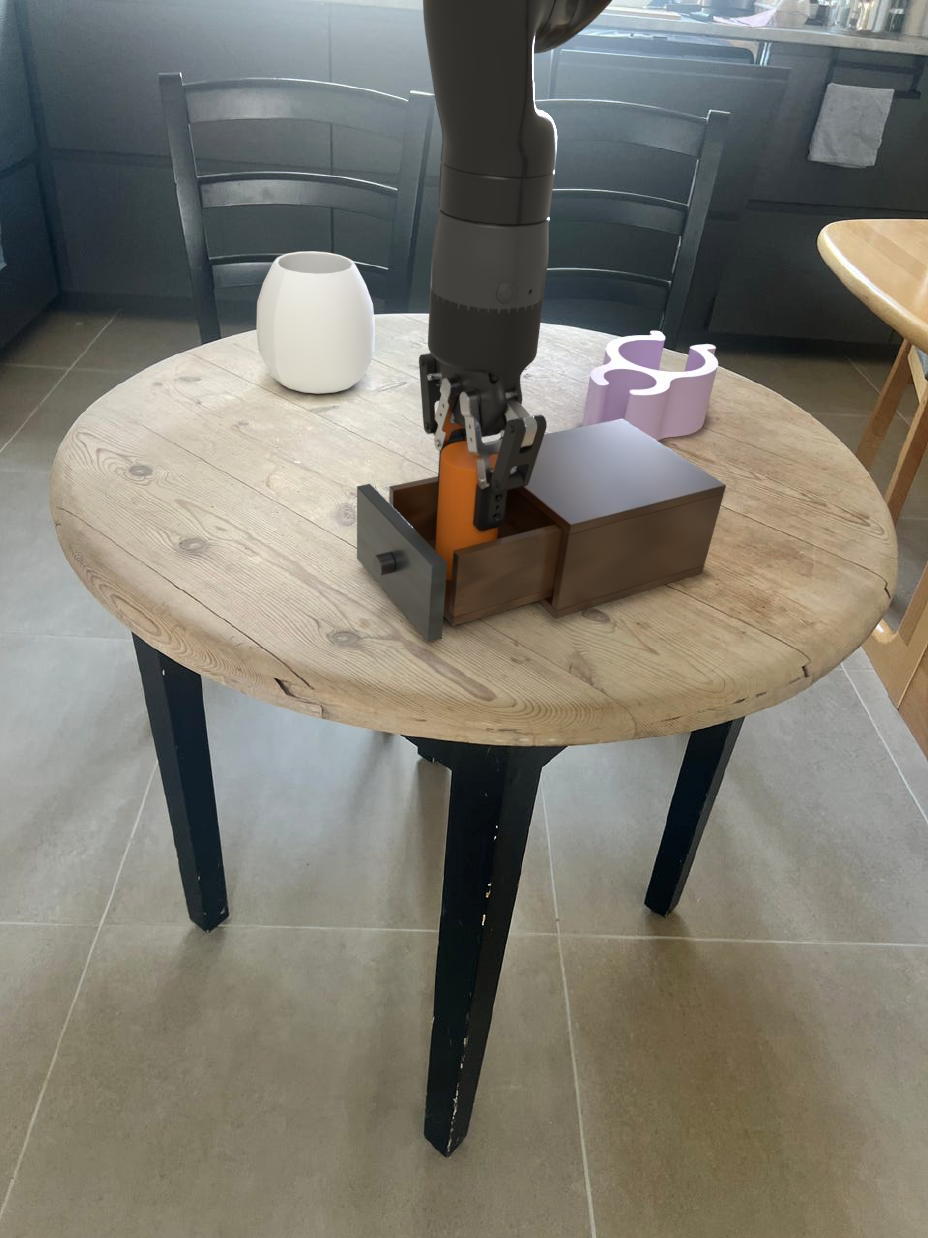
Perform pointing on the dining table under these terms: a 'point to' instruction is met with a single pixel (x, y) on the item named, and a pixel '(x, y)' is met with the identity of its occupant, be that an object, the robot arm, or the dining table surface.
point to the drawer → (481, 573)
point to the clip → (650, 387)
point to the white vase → (315, 322)
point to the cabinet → (620, 513)
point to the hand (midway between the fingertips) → (468, 509)
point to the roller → (458, 503)
